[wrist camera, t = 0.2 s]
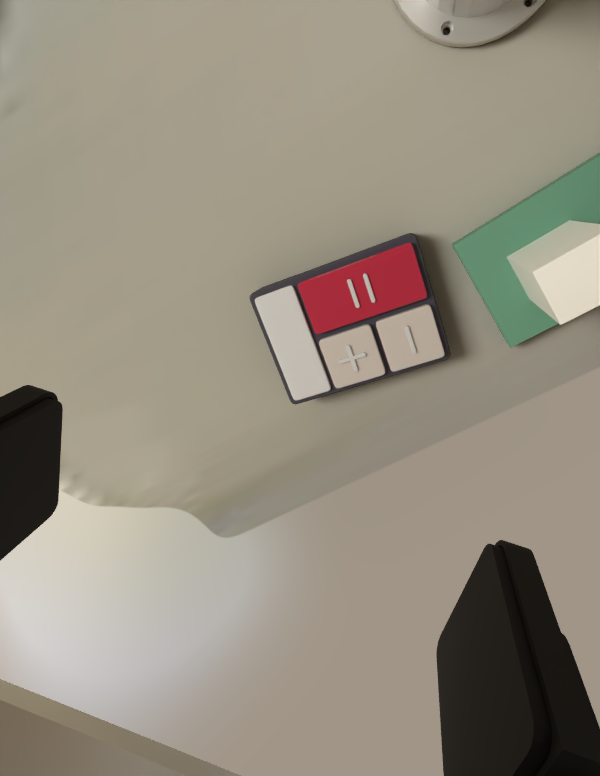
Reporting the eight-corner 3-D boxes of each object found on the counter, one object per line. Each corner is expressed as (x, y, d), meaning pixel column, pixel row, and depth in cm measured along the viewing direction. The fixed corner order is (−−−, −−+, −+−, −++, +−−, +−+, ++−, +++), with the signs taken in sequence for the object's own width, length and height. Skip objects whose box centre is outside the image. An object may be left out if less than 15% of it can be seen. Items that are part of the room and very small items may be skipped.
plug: (529, 299, 40) (560, 325, 32) (506, 257, 39) (532, 272, 31) (600, 261, 38) (653, 277, 29) (577, 215, 37) (625, 220, 29)
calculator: (453, 361, 41) (290, 409, 45) (447, 347, 45) (298, 393, 49) (416, 232, 38) (245, 296, 42) (413, 231, 42) (257, 289, 46)
